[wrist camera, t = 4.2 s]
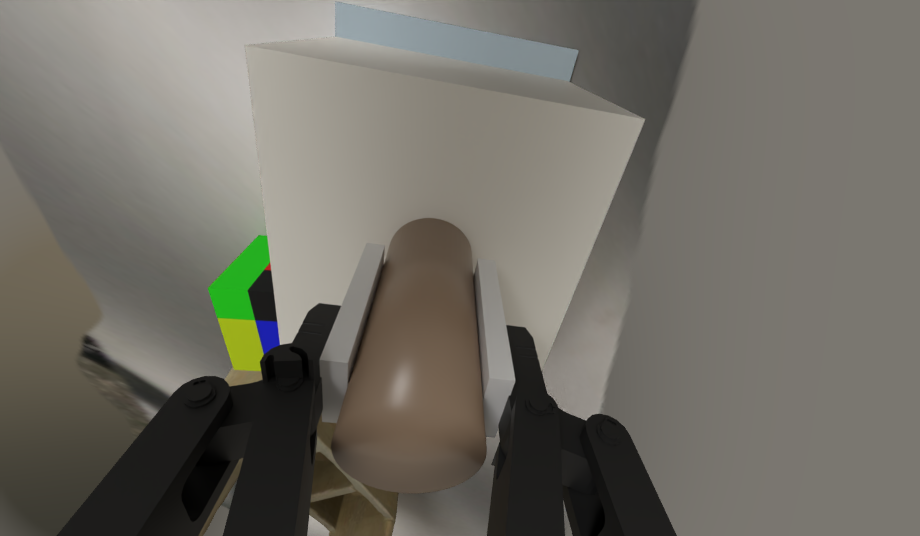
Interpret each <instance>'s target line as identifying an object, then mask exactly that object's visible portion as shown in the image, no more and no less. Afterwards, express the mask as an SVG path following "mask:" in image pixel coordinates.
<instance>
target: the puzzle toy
mask: <svg viewBox="0 0 920 536" xmlns="http://www.w3.org/2000/svg"><path fill="white" fill-rule="evenodd" d="M208 290H209V293H210V296H211V299H212V303H213V306H214V309H215V312H216V315H217V318H218V321H219V324H220V328H221V331H222V334H223V337H224V340H225V343H226V346H227V349H228V353H229V356H230V359H231V362H232V365H233V368H234V370H246V371H261V367H260V360H261V359H262V357H263V355H264V354H265V353H266V352H268V351H269V350H270V349H272V348H274V347H276V346H279V345H280V340H279V331H278V323H277V315H276V306H275V298H274V289H273V281H272V272H271V264H270V255H269V247H268V238H267V236H261V235H259V236H258V237H257V238H256V239H255V240H254V241H253V242H252V243H251V244H250V245H249V246H248V247H247V248H246V249H245V250H244V251H243V252H242V253H241V254H240V255H239V256H238V257H237V258H236V259H235V260H234V261H233V262H232V263H231V264H230V266H229V267H228V268H227V269H226V270H225V271H224V272H223V273H222V274H221V275H220V276H219V277H218V278H217V279H216V280H215V281H214V282H213V283H212V284H211V285H210V286H209V287H208Z"/></svg>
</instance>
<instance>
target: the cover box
mask: <svg viewBox="0 0 920 536" xmlns="http://www.w3.org/2000/svg"><path fill="white" fill-rule="evenodd" d="M245 52H246V60H247V69H248V77H249V86H250V94H251V103H252V111H253V120H254V128H255V137H256V145H257V154H258V162H259V171H260V179H261V187H262V196H263V204H264V213H265V221H266V230H267V238H268V247H269V255H270V264H271V272H272V281H273V289H274V298H275V306H276V315H277V323H278V331H279V340H280V345H282V344H289V343H292V342H293V340H294V338H295V336H296V334H297V333H298V330H299V329H300V327H301V325H302V324H303V321H304V319H305V317H306V315H307V313H308V311H309V310H311V309H312V308H313V307H314V306H316V305H317V304H318V303H323V304H331V305H339V306H341V305H342V303H343V300H344V298H345V295H346V293H347V290H348V288H349V285H350V283H351V280H352V278H353V276H354V273H355V271H356V268H357V266H358V263H359V261H360V258H361V256H362V253H363V251H364V248H365V246H366V243H372V244H379V245H385V253H384V266H383V269H382V272H381V276H380V279H379V282H378V286H377V289H376V293H375V296H374V299H373V303H372V306H371V309H370V313H369V316H368V319H367V323H366V326H365V330H364V333H363V336H362V340H361V343H360V346H359V350H358V353H357V357H356V360H355V363H354V367H353V370H352V373H351V377H350V380H349V384H348V387H347V390H346V393H345V397H344V400H343V404H342V407H341V410H340V414H339V417H338V420H337V424H336V427H335V431H334V434H333V437H332V441H331V451H332V455H333V457H334V459H335V461H336V463H337V464H338V465H339V467H340V468H341V469H342V470H343V471H344V472H345V473H347V474H348V475H349V476H351V477H352V478H354V479H356V480H357V481H359V482H361V483H364V484H366V485H368V486H371V487H374V488H377V489H381V490H385V491H391V492H398V493H428V492H435V491H440V490H444V489H448V488H451V487H454V486H456V485H458V484H461V483H463V482H464V481H466V480H468V479H469V478H471V477H472V476H473V475H474V474H475V473H476V472H478V471H479V469H480V468H481V467H482V465H483V463H484V461H485V458H486V451H487V448H486V434H485V421H484V408H483V395H482V382H481V368H480V355H479V342H478V329H477V315H476V302H475V289H474V273H475V268H476V264H477V260H478V258H480V259H487V260H494V261H495V263H496V269H497V275H498V281H499V287H500V293H501V298H502V304H503V310H504V316H505V322H506V325H511V326H519V327H525V328H526V329H527V330H528V332H529V333H530V334H531V335H532V337H533V339H534V343H535V347H536V351H537V355H538V359H539V363H540V367H541V371H542V370H543V367H544V365H545V362H546V360H547V358H548V355H549V353H550V350H551V348H552V345H553V343H554V341H555V338H556V336H557V333H558V331H559V328H560V326H561V324H562V321H563V319H564V316H565V314H566V311H567V309H568V306H569V304H570V302H571V299H572V297H573V294H574V292H575V289H576V287H577V285H578V282H579V280H580V277H581V275H582V272H583V270H584V267H585V265H586V263H587V260H588V258H589V255H590V253H591V250H592V248H593V246H594V243H595V241H596V238H597V236H598V233H599V231H600V229H601V226H602V224H603V221H604V219H605V216H606V214H607V211H608V209H609V207H610V204H611V202H612V199H613V197H614V194H615V192H616V190H617V187H618V185H619V182H620V180H621V177H622V175H623V173H624V170H625V168H626V165H627V163H628V160H629V158H630V155H631V153H632V151H633V148H634V146H635V143H636V141H637V138H638V136H639V134H640V131H641V129H642V126H643V124H644V121H645V119H644V118H642V117H640V116H638V115H636V114H634V113H632V112H630V111H628V110H625V109H623V108H621V107H619V106H617V105H615V104H613V103H611V102H609V101H607V100H605V99H603V98H601V97H599V96H597V95H595V94H593V93H591V92H589V91H587V90H585V89H583V88H581V87H579V86H577V85H575V84H572V83H570V82H568V81H565V80H560V79H554V78H549V77H544V76H539V75H534V74H528V73H523V72H518V71H513V70H507V69H502V68H497V67H492V66H487V65H481V64H476V63H471V62H466V61H461V60H455V59H450V58H445V57H440V56H434V55H429V54H424V53H419V52H414V51H408V50H403V49H398V48H393V47H388V46H382V45H377V44H372V43H367V42H362V41H356V40H351V39H346V38H341V37H326V38H316V39H305V40H294V41H283V42H272V43H261V44H251V45H245Z"/></svg>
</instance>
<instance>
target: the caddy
mask: <svg viewBox="0 0 920 536" xmlns="http://www.w3.org/2000/svg"><path fill="white" fill-rule="evenodd" d="M260 380H262V373H261V371H246V370H234V368H233V367H232V369H231V371H230V372H229V374H228V375H227V377H226V378H225V381H226V382H227V383H228V384H229V386H236V385H242V384H248V383H253V382H257V381H260ZM336 424H337V423H330V422H322V413H321V416H320V419H319V422H318V425H317V445H316V454H315V464H314V473H313V483H312V493H311V502H310V512H309V515H310V516H312V517H313V518H315V519H316V520H317V521H318V522H320V523H321V524H322V525H324V526H325V527H326V528H327V529H328V530H329V531H330V532H329V536H392V532H393V528H394V524H395V519H396V513H397V501H398V492H391V491H385V490H381V489H377V488H374V487H371V486H368V485H366V484H364V483H361V482H359V481H357V480H356V479H354V478H352V477H351V476H349V475H348V474H347V473H345V472H344V471H343V470H342V469H341V468H340V467H339V465H338V464H337V463H336V461H335V459H334V457H333V455H332V451H331V441H332V437H333V434H334V431H335V427H336ZM242 461H243V458H241V459H240V460H239V461H238V463H237V465H236V467H235V469H234V471H233V473H232V474H231V476H230V478H229V480H228V482H227V484H226V486H225V487H224V489H223V491H222V493H221V495H220V497H219V499H218V500H217V502H216V504H215V506H214V508H213V510H212V512H211V513H210V515H209V517H208V519H207V521H206V523H205V524H204V526H203V528H202V530H201V532H200V534H199V536H203V535H204V533H205V532H206V530H207V528H208V527H209V525H210V523H211V521H212V519H213V517H214V515H215V513H216V511H217V509H218V508H219V507H220V505H221V504H222V503H223V502H224V500H225V498H226V497H227V495H228V493H229V492H230V490H231V488H232V487H233V485H234V483H235V482H236V480H237V479H238V476H239V473H240V469H241V465H242Z"/></svg>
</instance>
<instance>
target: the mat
mask: <svg viewBox="0 0 920 536" xmlns="http://www.w3.org/2000/svg"><path fill="white" fill-rule="evenodd" d="M335 37H341V38H346V39H351V40H356V41H362V42H367V43H372V44H377V45H382V46H388V47H393V48H398V49H403V50H408V51H414V52H419V53H424V54H429V55H434V56H440V57H445V58H450V59H455V60H461V61H466V62H471V63H476V64H481V65H487V66H492V67H497V68H502V69H507V70H513V71H518V72H523V73H528V74H534V75H539V76H544V77H549V78H554V79H560V80H565V81H568V82H570V79H571V75H572V72H573V68H574V65H575V61H576V58H577V54H578V51H579V50H575V49H570V48H565V47H560V46H555V45H550V44H545V43H540V42H535V41H530V40H525V39H520V38H515V37H510V36H505V35H500V34H495V33H490V32H485V31H480V30H475V29H470V28H465V27H460V26H455V25H450V24H445V23H440V22H435V21H430V20H425V19H420V18H415V17H410V16H405V15H400V14H395V13H390V12H385V11H380V10H375V9H370V8H365V7H360V6H355V5H350V4H345V3H340V2H335Z"/></svg>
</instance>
